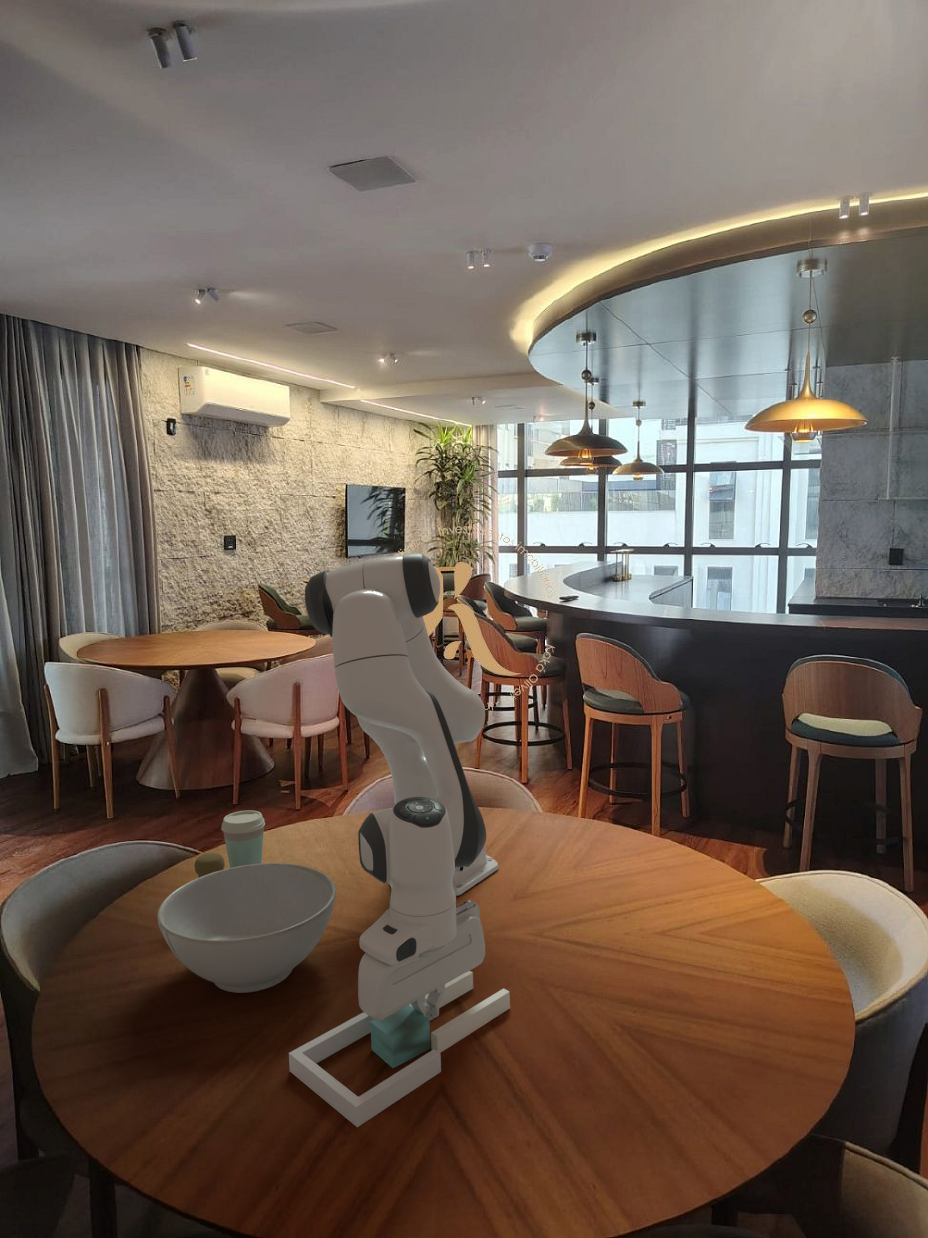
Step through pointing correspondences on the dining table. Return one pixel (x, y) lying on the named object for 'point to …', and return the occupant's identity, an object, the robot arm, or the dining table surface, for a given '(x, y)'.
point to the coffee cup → (244, 837)
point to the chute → (471, 1017)
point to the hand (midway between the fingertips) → (427, 1019)
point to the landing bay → (342, 1097)
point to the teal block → (400, 1036)
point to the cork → (209, 864)
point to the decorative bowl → (248, 923)
